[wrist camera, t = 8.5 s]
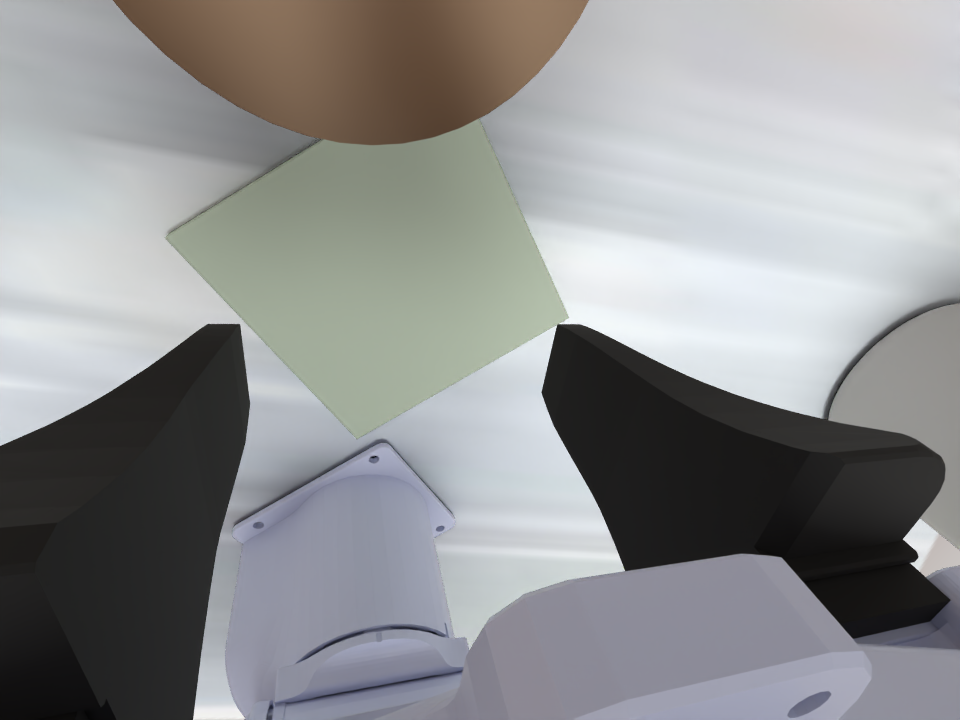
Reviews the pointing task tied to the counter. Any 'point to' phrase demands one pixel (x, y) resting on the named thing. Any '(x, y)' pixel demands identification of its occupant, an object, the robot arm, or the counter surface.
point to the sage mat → (379, 269)
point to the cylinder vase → (914, 399)
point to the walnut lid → (360, 58)
